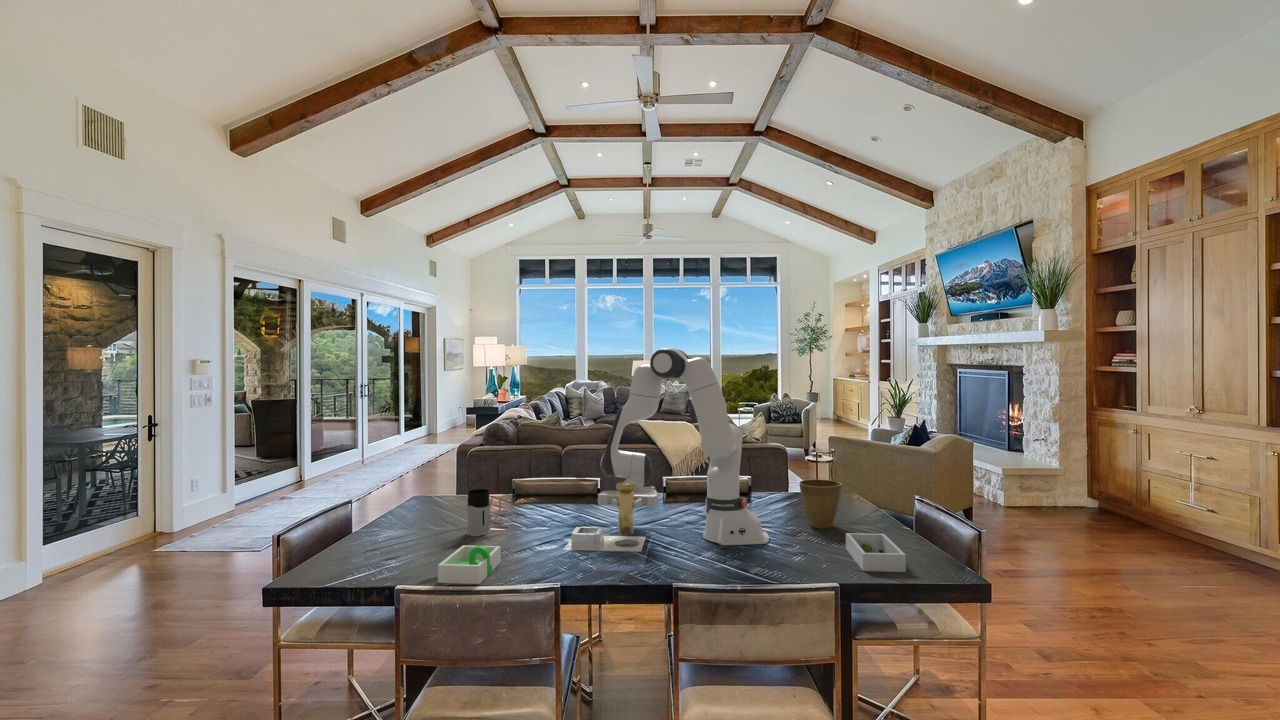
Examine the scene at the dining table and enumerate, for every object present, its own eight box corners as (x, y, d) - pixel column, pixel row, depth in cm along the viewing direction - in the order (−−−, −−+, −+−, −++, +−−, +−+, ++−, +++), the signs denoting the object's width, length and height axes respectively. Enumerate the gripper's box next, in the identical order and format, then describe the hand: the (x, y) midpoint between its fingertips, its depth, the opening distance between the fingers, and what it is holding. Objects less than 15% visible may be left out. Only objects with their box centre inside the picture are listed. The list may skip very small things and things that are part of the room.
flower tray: (884, 549, 196) (883, 533, 196) (905, 572, 175) (905, 554, 175) (845, 548, 197) (845, 533, 197) (862, 571, 177) (862, 553, 177)
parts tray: (500, 562, 187) (500, 546, 187) (479, 584, 169) (479, 566, 169) (463, 561, 188) (462, 545, 188) (437, 582, 170) (437, 565, 170)
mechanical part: (494, 568, 181) (493, 541, 181) (488, 575, 175) (487, 547, 175) (454, 568, 182) (454, 541, 182) (447, 575, 176) (446, 547, 176)
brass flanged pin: (636, 529, 203) (636, 482, 203) (634, 535, 197) (634, 486, 197) (617, 529, 204) (617, 481, 204) (614, 534, 197) (614, 485, 197)
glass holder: (477, 528, 225) (477, 487, 225) (508, 532, 219) (508, 491, 219) (461, 534, 218) (460, 492, 218) (492, 539, 211) (492, 496, 211)
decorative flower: (887, 545, 178) (856, 531, 192) (873, 561, 176) (844, 546, 191) (903, 563, 179) (871, 548, 193) (889, 579, 178) (859, 563, 192)
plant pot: (846, 524, 226) (845, 481, 226) (835, 534, 214) (835, 488, 214) (806, 518, 234) (806, 477, 234) (794, 528, 222) (793, 484, 222)
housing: (645, 541, 208) (645, 525, 208) (641, 556, 192) (641, 538, 192) (573, 539, 210) (573, 523, 210) (563, 554, 194) (563, 537, 194)
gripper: (601, 485, 214) (594, 493, 200) (659, 486, 212) (656, 495, 198) (601, 503, 214) (594, 513, 200) (659, 504, 212) (656, 514, 198)
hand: (625, 504), depth 199 cm, fingers closed on brass flanged pin, 5 cm apart
